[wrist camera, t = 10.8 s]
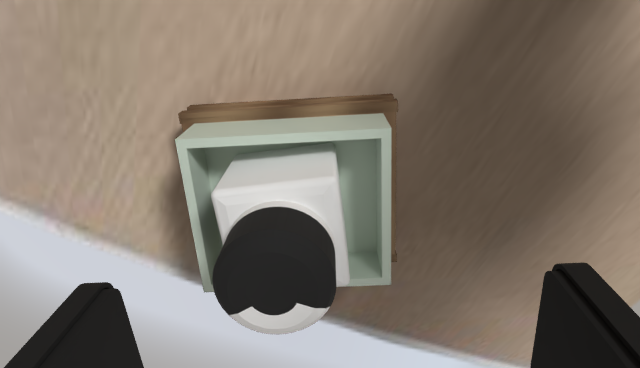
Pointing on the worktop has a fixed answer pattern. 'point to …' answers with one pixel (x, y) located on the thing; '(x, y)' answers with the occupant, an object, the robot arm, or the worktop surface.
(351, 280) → the sage crate
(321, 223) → the medicine bottle
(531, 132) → the worktop surface
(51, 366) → the robot arm
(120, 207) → the worktop surface
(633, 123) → the worktop surface
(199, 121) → the brown wooden flat block
